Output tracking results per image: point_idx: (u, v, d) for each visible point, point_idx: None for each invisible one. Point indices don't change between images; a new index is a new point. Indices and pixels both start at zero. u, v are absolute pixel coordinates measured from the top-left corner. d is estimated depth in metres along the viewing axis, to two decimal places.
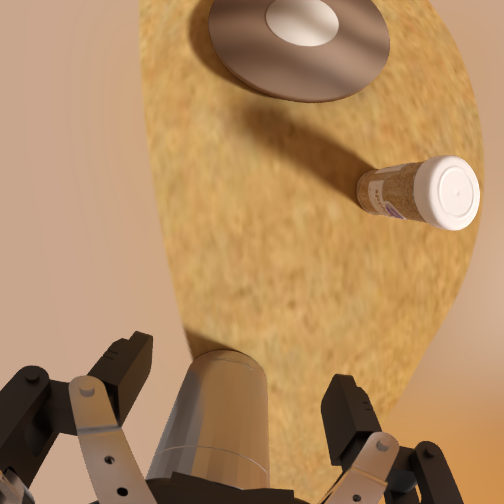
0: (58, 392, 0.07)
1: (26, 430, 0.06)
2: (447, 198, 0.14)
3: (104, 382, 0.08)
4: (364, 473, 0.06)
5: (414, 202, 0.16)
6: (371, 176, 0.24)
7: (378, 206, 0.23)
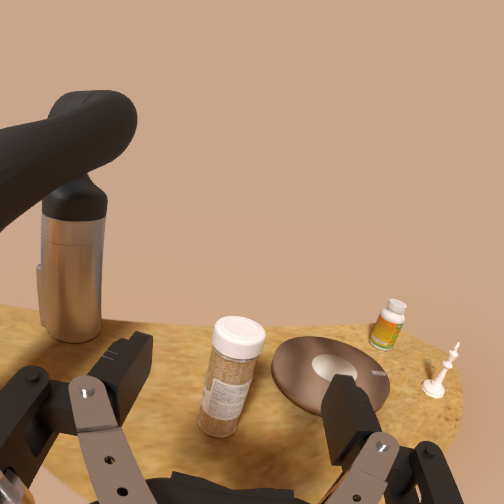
0: (58, 392, 0.07)
1: (26, 430, 0.06)
2: (235, 322, 0.26)
3: (104, 382, 0.08)
4: (364, 473, 0.06)
5: None
6: None
7: None
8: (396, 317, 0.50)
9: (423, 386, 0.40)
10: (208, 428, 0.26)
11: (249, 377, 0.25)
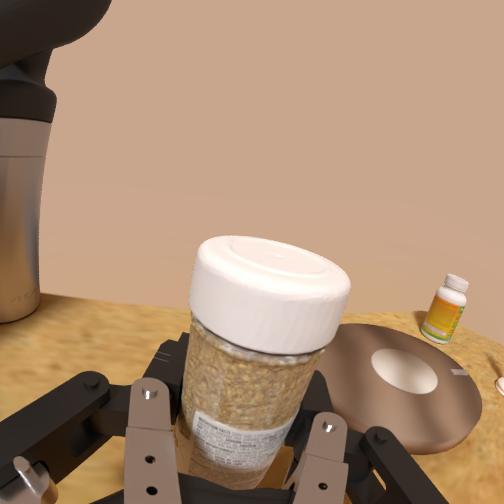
0: (117, 396, 0.08)
1: (74, 430, 0.07)
2: (258, 245, 0.09)
3: (164, 383, 0.09)
4: (321, 459, 0.06)
5: None
6: None
7: None
8: (459, 297, 0.33)
9: (499, 386, 0.23)
10: None
11: (297, 405, 0.08)
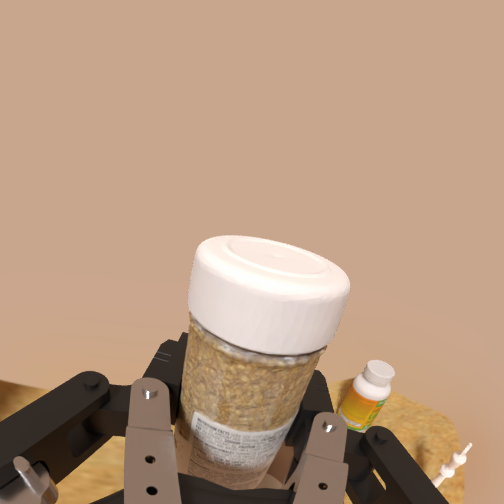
0: (117, 396, 0.08)
1: (73, 430, 0.07)
2: (257, 245, 0.09)
3: (164, 383, 0.09)
4: (321, 459, 0.06)
5: None
6: None
7: None
8: (377, 392, 0.30)
9: None
10: None
11: (296, 406, 0.08)
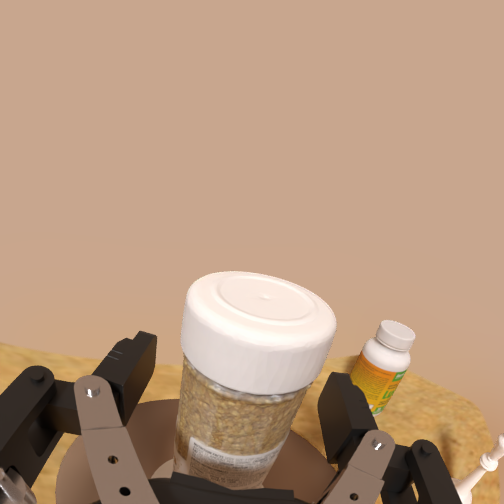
0: (63, 392, 0.07)
1: (30, 430, 0.06)
2: (247, 284, 0.09)
3: (109, 382, 0.08)
4: (361, 471, 0.06)
5: None
6: None
7: None
8: (395, 360, 0.24)
9: None
10: None
11: (286, 431, 0.09)
